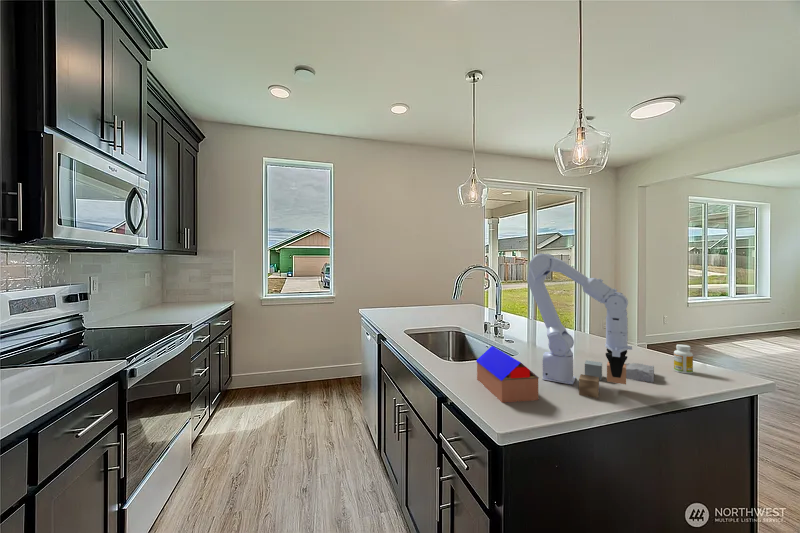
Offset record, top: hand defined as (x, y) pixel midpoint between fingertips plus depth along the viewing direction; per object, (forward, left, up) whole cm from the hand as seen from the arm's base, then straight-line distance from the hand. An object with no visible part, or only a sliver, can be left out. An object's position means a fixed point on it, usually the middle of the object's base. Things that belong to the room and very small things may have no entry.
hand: (616, 374), depth 105 cm
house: (-30, -18, -5) cm, 35 cm away
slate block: (-7, +10, -5) cm, 13 cm away
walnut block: (-7, -8, -5) cm, 12 cm away
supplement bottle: (+20, +34, -5) cm, 40 cm away
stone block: (+6, +20, -6) cm, 21 cm away
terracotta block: (0, 0, -2) cm, 2 cm away
